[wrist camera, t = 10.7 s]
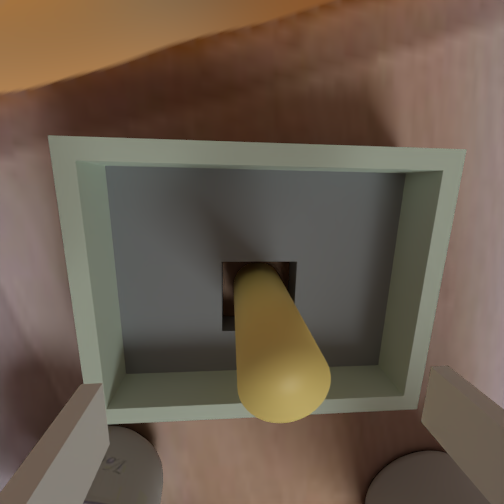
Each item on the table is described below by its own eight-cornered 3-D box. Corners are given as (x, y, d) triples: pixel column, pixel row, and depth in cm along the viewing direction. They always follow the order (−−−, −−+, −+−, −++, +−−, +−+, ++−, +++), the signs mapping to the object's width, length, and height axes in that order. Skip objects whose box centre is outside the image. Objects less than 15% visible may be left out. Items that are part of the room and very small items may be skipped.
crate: (123, 367, 24) (89, 425, 18) (101, 150, 20) (47, 135, 14) (374, 359, 26) (416, 409, 20) (402, 159, 22) (466, 149, 16)
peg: (233, 262, 22) (237, 342, 11) (281, 261, 23) (334, 340, 11) (233, 306, 23) (237, 425, 12) (279, 306, 24) (326, 420, 12)
